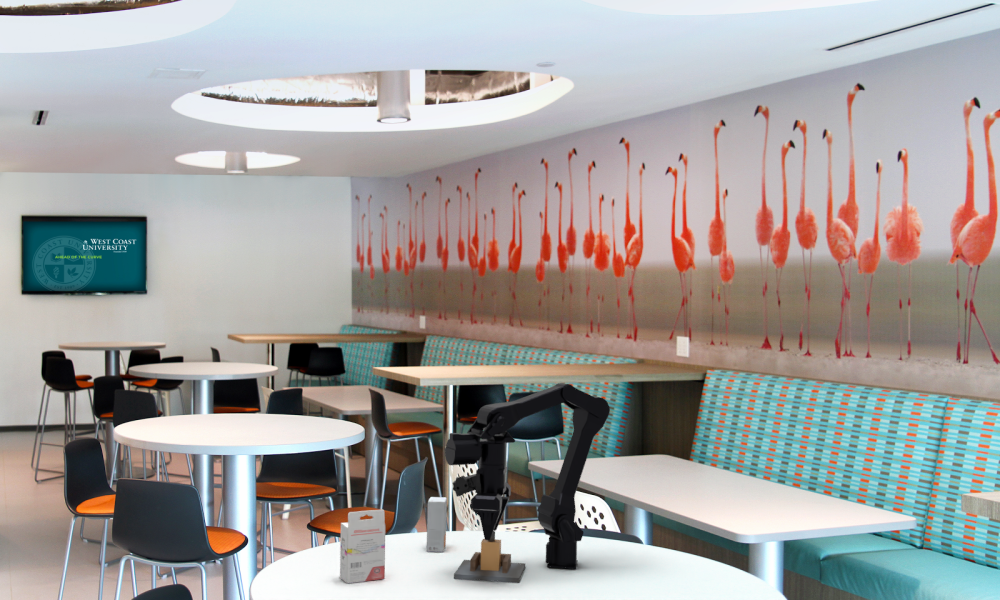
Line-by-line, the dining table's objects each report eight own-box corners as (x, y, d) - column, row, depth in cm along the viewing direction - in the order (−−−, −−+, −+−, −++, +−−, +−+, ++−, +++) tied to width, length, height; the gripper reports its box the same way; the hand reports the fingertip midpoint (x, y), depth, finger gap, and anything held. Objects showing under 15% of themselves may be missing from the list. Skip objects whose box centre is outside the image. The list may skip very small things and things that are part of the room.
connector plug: (500, 567, 198) (501, 530, 198) (498, 570, 195) (499, 533, 195) (482, 566, 198) (483, 529, 198) (480, 569, 195) (481, 532, 195)
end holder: (525, 567, 201) (525, 552, 201) (518, 582, 189) (519, 566, 189) (464, 564, 203) (464, 548, 203) (453, 578, 191) (454, 562, 191)
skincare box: (444, 552, 213) (445, 501, 214) (426, 552, 213) (427, 501, 214) (446, 546, 219) (447, 497, 220) (428, 545, 219) (429, 496, 220)
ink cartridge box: (377, 573, 194) (378, 505, 195) (385, 579, 190) (386, 509, 190) (338, 577, 190) (340, 508, 191) (345, 584, 186) (347, 512, 186)
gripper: (463, 455, 207) (462, 523, 207) (447, 468, 189) (445, 542, 188) (511, 458, 206) (510, 526, 205) (500, 470, 187) (498, 546, 187)
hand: (490, 535), depth 196 cm, fingers open, 9 cm apart
